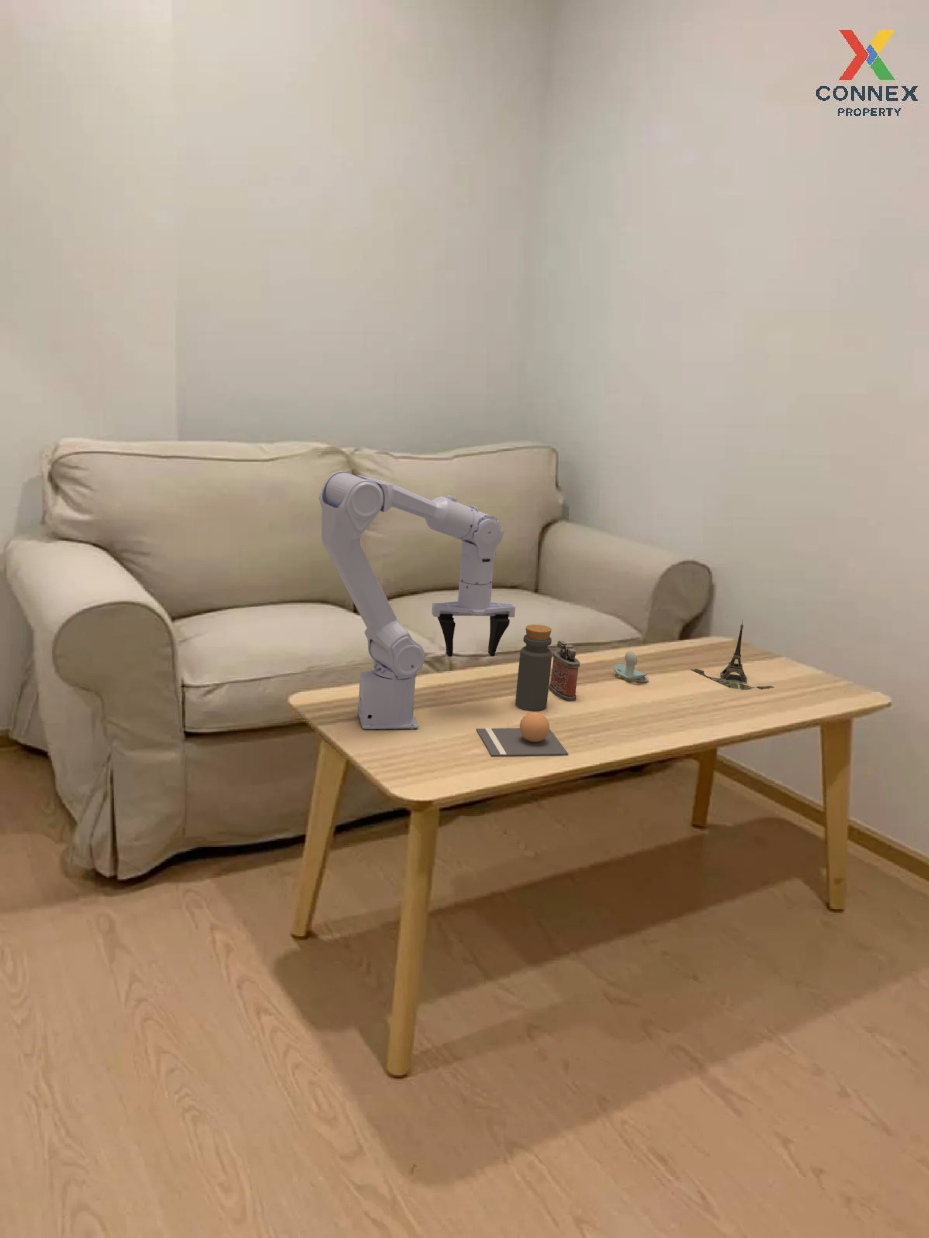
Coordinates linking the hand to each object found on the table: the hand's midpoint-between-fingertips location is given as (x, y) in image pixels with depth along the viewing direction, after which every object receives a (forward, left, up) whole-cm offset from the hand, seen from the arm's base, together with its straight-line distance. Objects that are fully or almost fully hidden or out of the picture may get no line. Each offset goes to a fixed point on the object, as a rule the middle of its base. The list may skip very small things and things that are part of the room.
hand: (470, 654), depth 180 cm
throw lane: (+6, -15, -10) cm, 19 cm away
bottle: (+13, +2, -11) cm, 17 cm away
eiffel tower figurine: (+61, +17, -11) cm, 64 cm away
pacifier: (+39, +17, -11) cm, 43 cm away
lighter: (+21, +8, -11) cm, 25 cm away
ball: (+8, -15, -10) cm, 20 cm away
